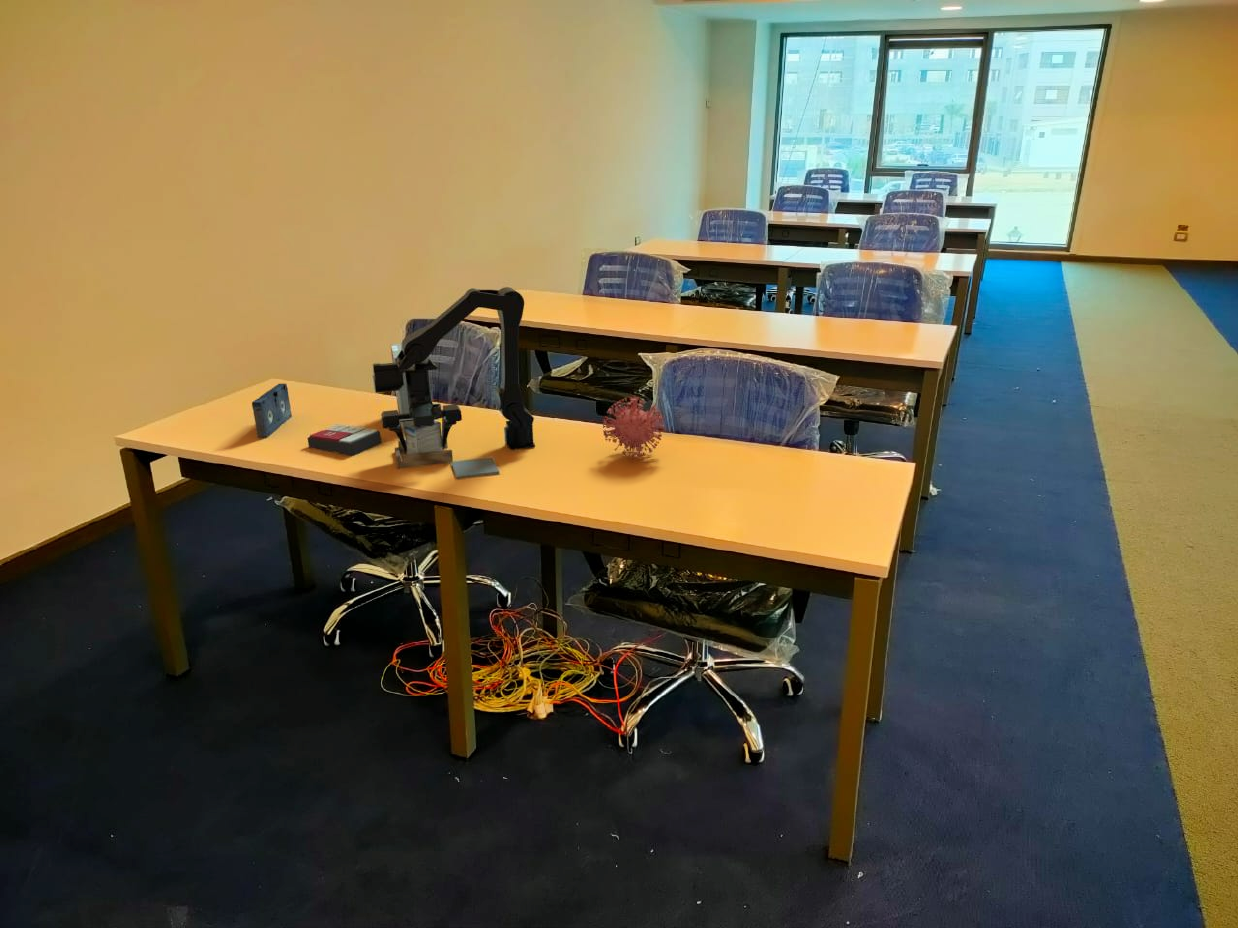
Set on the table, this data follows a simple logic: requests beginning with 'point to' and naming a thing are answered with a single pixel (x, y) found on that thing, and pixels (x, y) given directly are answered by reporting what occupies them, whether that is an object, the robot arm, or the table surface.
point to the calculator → (345, 439)
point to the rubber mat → (474, 467)
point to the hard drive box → (402, 393)
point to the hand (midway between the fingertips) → (424, 449)
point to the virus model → (633, 427)
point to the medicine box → (423, 438)
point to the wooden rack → (422, 457)
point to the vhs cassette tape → (271, 410)
